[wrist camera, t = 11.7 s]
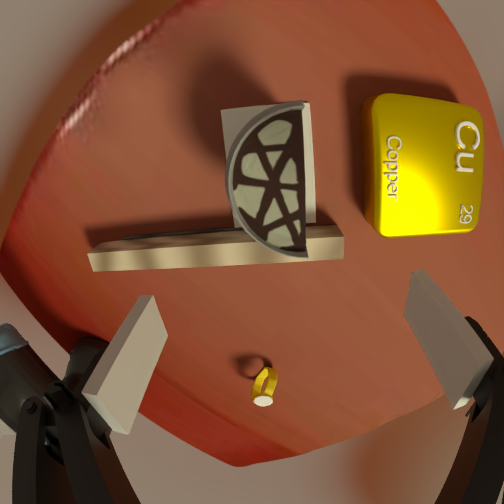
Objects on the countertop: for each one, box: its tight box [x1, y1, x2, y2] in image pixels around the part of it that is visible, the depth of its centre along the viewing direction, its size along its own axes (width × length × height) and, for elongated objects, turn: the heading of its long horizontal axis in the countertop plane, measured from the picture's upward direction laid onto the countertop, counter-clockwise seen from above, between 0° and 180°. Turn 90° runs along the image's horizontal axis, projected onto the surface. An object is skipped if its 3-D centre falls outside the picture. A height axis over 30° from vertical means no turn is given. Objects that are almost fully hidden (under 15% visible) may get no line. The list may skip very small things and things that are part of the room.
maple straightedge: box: [88, 225, 344, 271], centre depth 31 cm, size 30×3×4 cm, turn 96°
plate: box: [221, 103, 316, 228], centre depth 28 cm, size 9×13×1 cm
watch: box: [251, 367, 277, 406], centre depth 39 cm, size 6×3×6 cm, turn 154°
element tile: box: [360, 93, 484, 238], centre depth 25 cm, size 15×15×5 cm
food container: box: [225, 100, 309, 258], centre depth 24 cm, size 12×6×10 cm, turn 4°
